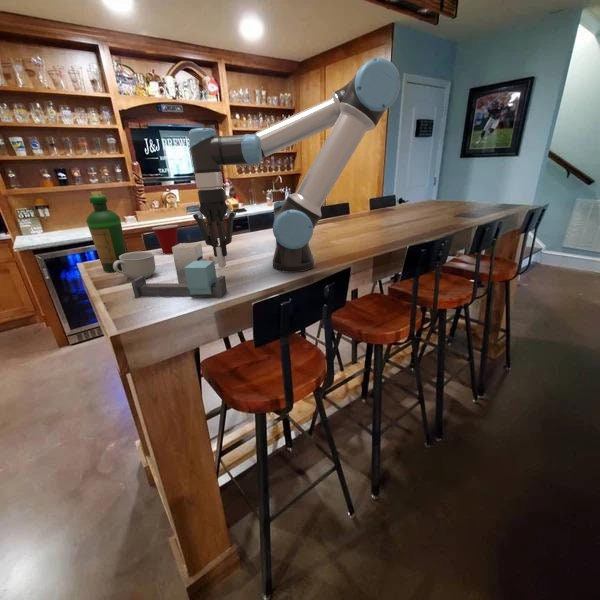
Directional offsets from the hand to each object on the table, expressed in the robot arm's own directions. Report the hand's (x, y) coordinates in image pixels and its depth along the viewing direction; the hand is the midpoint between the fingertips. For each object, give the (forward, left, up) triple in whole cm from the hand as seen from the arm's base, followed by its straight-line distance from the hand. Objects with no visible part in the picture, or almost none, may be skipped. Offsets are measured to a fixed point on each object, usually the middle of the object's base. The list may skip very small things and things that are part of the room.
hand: (222, 266), depth 102 cm
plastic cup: (+37, -38, -5) cm, 54 cm away
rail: (+9, +12, -5) cm, 16 cm away
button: (+6, 0, -1) cm, 7 cm away
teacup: (+32, -3, -5) cm, 33 cm away
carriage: (+2, +12, -4) cm, 13 cm away
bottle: (+46, -13, -5) cm, 48 cm away
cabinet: (+10, 0, -5) cm, 11 cm away
